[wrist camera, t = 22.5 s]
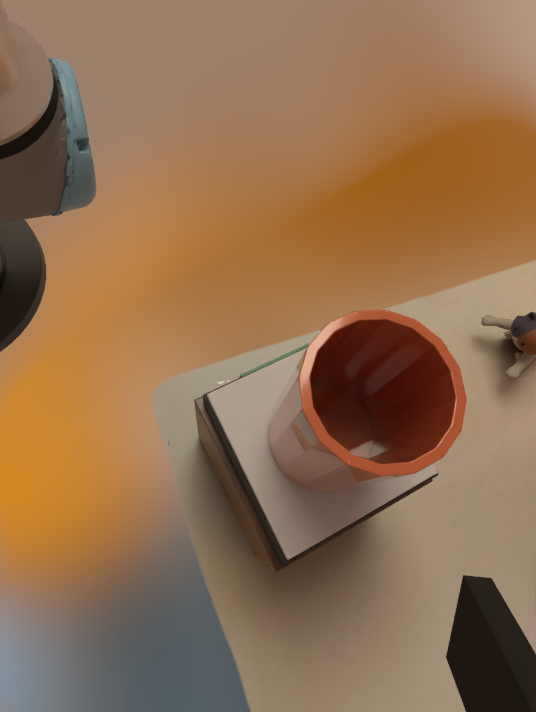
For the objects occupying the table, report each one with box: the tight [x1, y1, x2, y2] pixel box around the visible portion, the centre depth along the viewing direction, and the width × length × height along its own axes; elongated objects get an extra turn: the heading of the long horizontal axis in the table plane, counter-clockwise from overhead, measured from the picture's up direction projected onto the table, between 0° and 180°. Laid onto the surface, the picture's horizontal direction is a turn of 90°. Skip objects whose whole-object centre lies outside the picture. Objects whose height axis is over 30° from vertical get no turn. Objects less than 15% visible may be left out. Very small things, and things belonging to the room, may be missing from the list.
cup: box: [268, 310, 466, 492], centre depth 27 cm, size 7×7×12 cm
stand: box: [194, 396, 433, 572], centre depth 43 cm, size 13×13×16 cm
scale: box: [203, 343, 438, 564], centre depth 34 cm, size 12×12×3 cm
